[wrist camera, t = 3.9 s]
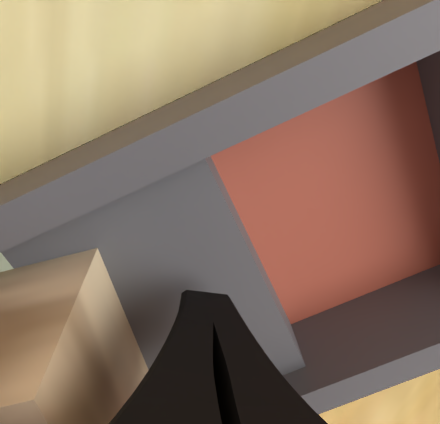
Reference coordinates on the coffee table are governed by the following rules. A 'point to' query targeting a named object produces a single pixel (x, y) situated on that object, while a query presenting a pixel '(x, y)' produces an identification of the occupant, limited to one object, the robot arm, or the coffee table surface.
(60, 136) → the coffee table surface
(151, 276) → the trap runway
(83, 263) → the maple block
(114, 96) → the coffee table surface
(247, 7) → the coffee table surface
